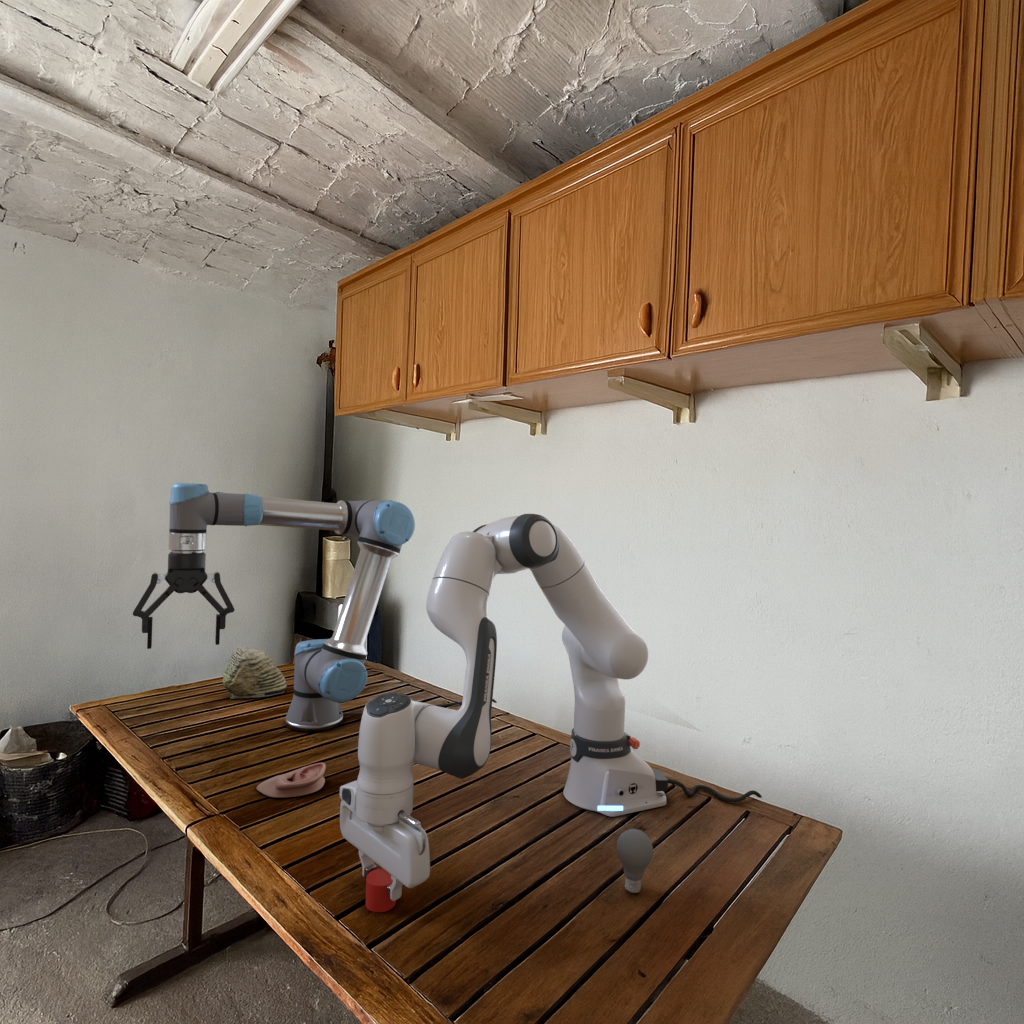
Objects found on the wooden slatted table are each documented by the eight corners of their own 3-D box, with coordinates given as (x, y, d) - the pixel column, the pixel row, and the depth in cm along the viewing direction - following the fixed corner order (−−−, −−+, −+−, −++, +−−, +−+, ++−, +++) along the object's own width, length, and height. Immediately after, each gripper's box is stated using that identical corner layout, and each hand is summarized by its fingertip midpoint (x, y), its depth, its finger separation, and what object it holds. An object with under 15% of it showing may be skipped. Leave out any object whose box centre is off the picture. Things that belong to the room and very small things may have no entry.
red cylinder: (370, 915, 97) (371, 888, 97) (361, 898, 101) (362, 872, 101) (400, 907, 99) (401, 880, 99) (390, 890, 103) (391, 865, 103)
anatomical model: (248, 775, 133) (279, 754, 144) (247, 794, 133) (278, 771, 144) (306, 783, 130) (332, 761, 142) (305, 802, 130) (332, 779, 142)
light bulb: (610, 879, 108) (613, 822, 108) (644, 879, 109) (647, 822, 109) (619, 902, 102) (622, 840, 102) (655, 901, 103) (658, 840, 103)
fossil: (218, 695, 195) (220, 647, 195) (278, 685, 208) (279, 640, 207) (228, 703, 189) (230, 653, 188) (289, 692, 201) (290, 645, 201)
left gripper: (120, 553, 133) (117, 653, 134) (248, 553, 145) (245, 645, 145) (123, 549, 140) (120, 645, 140) (245, 550, 151) (242, 638, 152)
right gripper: (442, 819, 95) (438, 910, 95) (367, 773, 109) (364, 852, 109) (407, 833, 90) (403, 929, 90) (334, 784, 105) (330, 866, 105)
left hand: (184, 645), depth 143 cm, fingers open, 13 cm apart
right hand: (381, 887), depth 100 cm, fingers open, 5 cm apart
